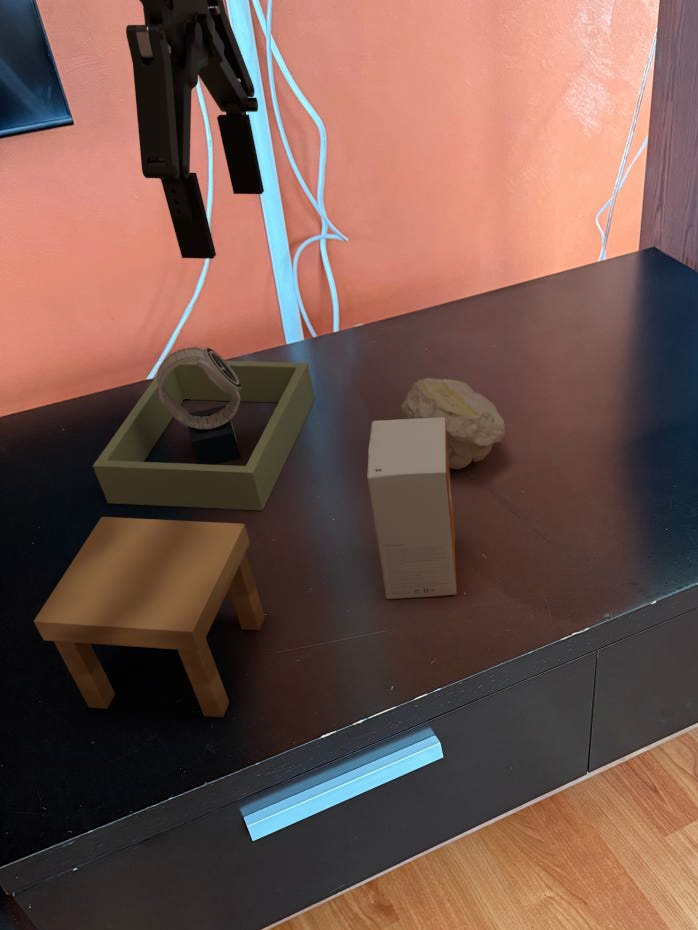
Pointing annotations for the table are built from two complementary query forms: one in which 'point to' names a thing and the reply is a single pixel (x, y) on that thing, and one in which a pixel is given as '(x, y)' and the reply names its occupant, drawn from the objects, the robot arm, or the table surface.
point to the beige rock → (457, 417)
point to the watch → (210, 425)
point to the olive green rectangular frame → (203, 483)
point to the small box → (412, 506)
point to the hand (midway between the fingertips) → (225, 223)
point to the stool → (151, 599)
